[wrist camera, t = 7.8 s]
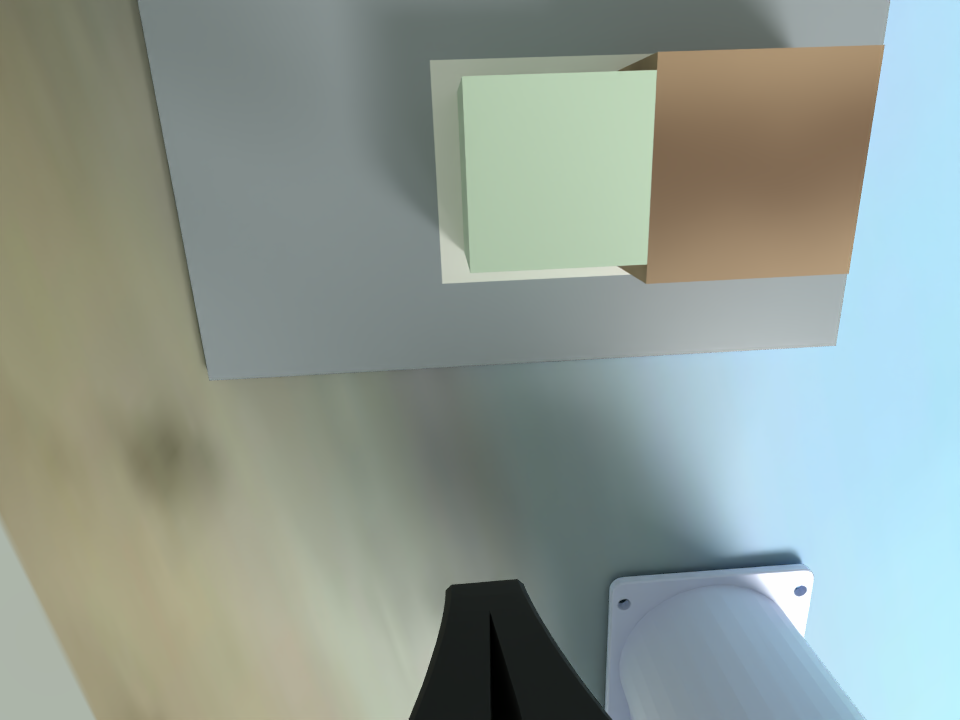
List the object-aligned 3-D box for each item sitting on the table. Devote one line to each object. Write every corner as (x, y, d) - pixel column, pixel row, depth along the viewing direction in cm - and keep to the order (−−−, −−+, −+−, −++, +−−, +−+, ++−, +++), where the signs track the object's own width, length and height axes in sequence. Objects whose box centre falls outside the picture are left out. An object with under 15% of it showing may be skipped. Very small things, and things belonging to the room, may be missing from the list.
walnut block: (777, 253, 20) (848, 273, 16) (609, 261, 19) (646, 284, 16) (799, 65, 18) (884, 45, 15) (615, 71, 18) (658, 51, 14)
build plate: (828, 342, 21) (835, 345, 21) (213, 376, 20) (209, 380, 20) (890, -61, 17) (900, -65, 17) (135, -45, 16) (127, -50, 16)
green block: (609, 245, 19) (647, 264, 16) (464, 252, 19) (470, 273, 16) (614, 86, 18) (656, 70, 14) (457, 91, 18) (462, 76, 14)
